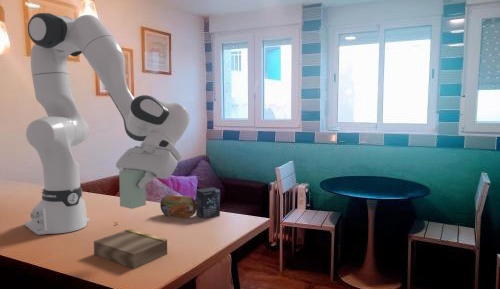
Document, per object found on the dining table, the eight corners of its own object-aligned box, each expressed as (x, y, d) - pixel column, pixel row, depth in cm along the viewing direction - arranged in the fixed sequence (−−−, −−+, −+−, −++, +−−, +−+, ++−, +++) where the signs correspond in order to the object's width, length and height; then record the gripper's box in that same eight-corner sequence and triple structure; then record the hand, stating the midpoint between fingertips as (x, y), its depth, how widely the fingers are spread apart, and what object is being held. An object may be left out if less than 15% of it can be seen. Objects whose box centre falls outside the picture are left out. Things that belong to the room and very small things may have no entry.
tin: (159, 215, 145) (159, 194, 144) (164, 213, 148) (164, 192, 147) (193, 219, 139) (193, 198, 139) (197, 217, 142) (197, 196, 142)
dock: (94, 254, 106) (93, 240, 106) (128, 241, 116) (127, 228, 116) (134, 268, 97) (133, 253, 96) (167, 253, 107) (167, 239, 107)
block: (120, 206, 105) (119, 171, 104) (134, 202, 109) (133, 169, 108) (131, 208, 102) (131, 173, 101) (145, 205, 106) (145, 170, 105)
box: (202, 219, 140) (202, 192, 139) (195, 215, 145) (195, 189, 144) (220, 216, 144) (220, 189, 143) (213, 212, 149) (213, 186, 148)
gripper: (127, 139, 115) (100, 174, 108) (175, 143, 104) (149, 183, 97) (138, 152, 119) (113, 187, 112) (186, 157, 108) (162, 196, 101)
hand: (130, 185), depth 104 cm, fingers closed on block, 5 cm apart
